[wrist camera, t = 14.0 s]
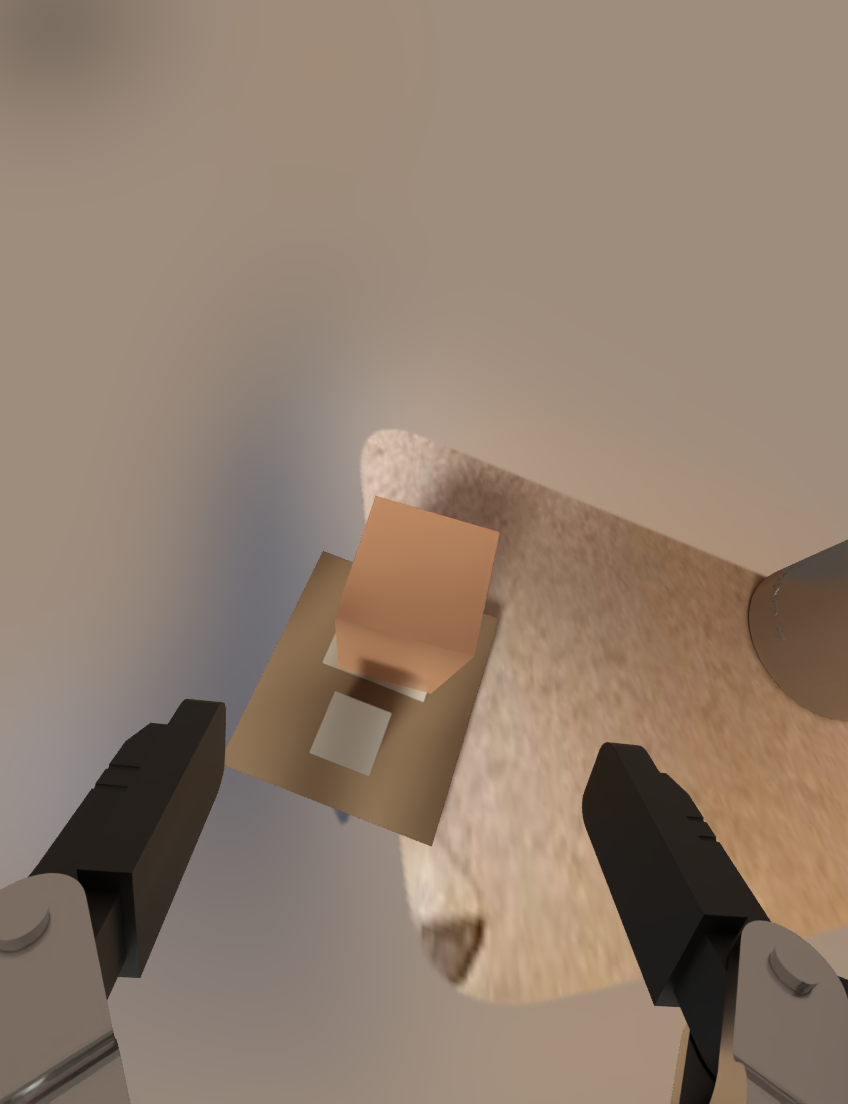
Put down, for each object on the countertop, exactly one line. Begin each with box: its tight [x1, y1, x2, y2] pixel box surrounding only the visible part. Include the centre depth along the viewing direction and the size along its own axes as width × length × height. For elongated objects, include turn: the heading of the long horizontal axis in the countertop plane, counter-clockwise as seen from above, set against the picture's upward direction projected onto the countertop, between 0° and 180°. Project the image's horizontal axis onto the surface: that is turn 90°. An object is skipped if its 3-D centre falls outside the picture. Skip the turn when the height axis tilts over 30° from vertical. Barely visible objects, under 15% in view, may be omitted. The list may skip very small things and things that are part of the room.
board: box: [225, 551, 499, 846], centre depth 22 cm, size 10×11×7 cm
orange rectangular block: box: [335, 496, 500, 694], centre depth 21 cm, size 5×5×9 cm
